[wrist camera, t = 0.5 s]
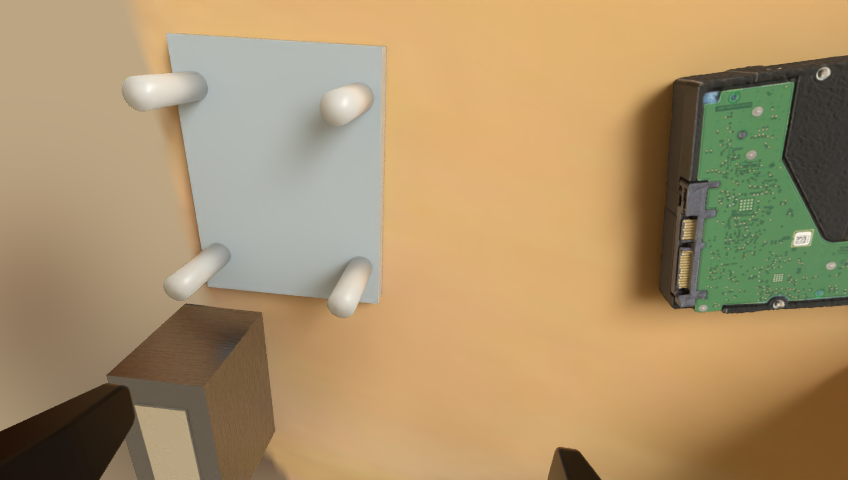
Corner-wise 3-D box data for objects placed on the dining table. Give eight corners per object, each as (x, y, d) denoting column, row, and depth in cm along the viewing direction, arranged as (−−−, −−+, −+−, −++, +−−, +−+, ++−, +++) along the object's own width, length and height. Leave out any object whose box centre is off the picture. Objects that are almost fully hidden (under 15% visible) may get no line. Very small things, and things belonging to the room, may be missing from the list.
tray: (381, 293, 23) (362, 346, 19) (217, 277, 24) (165, 325, 20) (386, 46, 18) (362, 46, 14) (180, 33, 19) (100, 30, 15)
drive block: (275, 429, 28) (228, 522, 23) (208, 421, 29) (145, 511, 23) (262, 311, 25) (202, 388, 19) (185, 303, 25) (104, 376, 19)
